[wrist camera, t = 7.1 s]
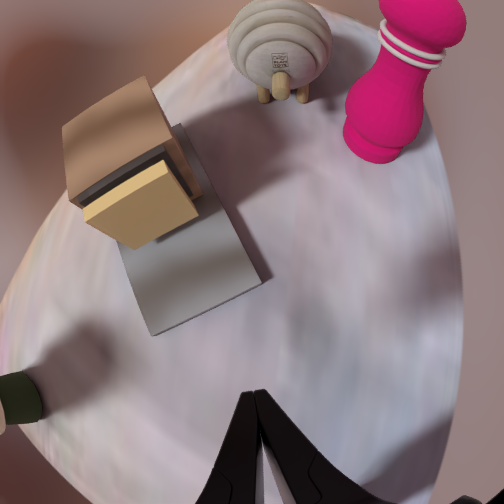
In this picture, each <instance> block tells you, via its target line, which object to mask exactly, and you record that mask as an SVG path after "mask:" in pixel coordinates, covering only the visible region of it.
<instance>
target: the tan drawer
mask: <svg viewBox="0 0 504 504" xmlns="http://www.w3.org/2000/svg"><path fill="white" fill-rule="evenodd" d="M82 210H83V215H84V220H85V222H86V223H87V224H89V225H91V226H92V227H94V228H96V229H98V230H99V231H101V232H103V233H105V234H106V235H108V236H110V237H112V238H113V239H115V240H117V241H119V242H120V243H122V244H124V245H126V246H128V247H129V248H131V249H133V250H136V249H138V248H140V247H142V246H143V245H145V244H147V243H149V242H151V241H152V240H154V239H156V238H158V237H160V236H161V235H163V234H165V233H167V232H169V231H171V230H173V229H174V228H176V227H178V226H180V225H182V224H184V223H186V222H188V221H189V220H191V219H193V218H195V217H197V216H199V215H198V212H197V210H196V208H195V206H194V204H193V203H192V201H191V200H190V198H189V197H188V195H187V194H186V193H185V191H184V190H183V188H182V187H181V185H180V184H179V182H178V181H177V179H176V178H175V176H174V175H173V173H172V172H171V170H170V169H169V167H168V166H167V164H166V163H165V162H164V160H162V161H160V162H158V163H156V164H155V165H153V166H151V167H149V168H147V169H146V170H144V171H142V172H140V173H139V174H137V175H135V176H134V177H132V178H130V179H129V180H127V181H125V182H124V183H122V184H120V185H119V186H117V187H115V188H114V189H112V190H111V191H109V192H107V193H106V194H104V195H103V196H101V197H100V198H98V199H97V200H95V201H94V202H92V203H91V204H89V205H88V206H86V207H85V208H83V209H82Z"/></svg>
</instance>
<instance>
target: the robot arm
mask: <svg viewBox="0 0 504 504" xmlns="http://www.w3.org/2000/svg"><path fill="white" fill-rule="evenodd" d="M261 438H262V440H261ZM262 443H263V447H264V450H265V453H266V456H267V459H268V462H269V464H270V467H271V470H272V473H273V476H274V479H275V481H276V484H277V487H278V490H279V492H280V495H281V498H282V500H283V503H284V504H396V503H392V502H388V501H385V500H382V499H380V498H378V497H376V496H374V495H372V494H371V493H369V492H368V491H366V490H365V489H363V488H362V487H360V486H359V485H358V484H356V483H355V482H353V481H352V480H351V479H349V478H348V477H347V476H345V475H344V474H343V473H342V472H340V471H339V470H338V469H337V468H336V467H334V466H333V465H332V464H331V463H330V462H329V461H328V460H327V459H326V458H325V457H324V456H323V455H322V454H321V453H320V451H318V449H317V448H316V447H315V446H314V445H313V444H312V443H311V442H310V441H309V440H308V438H307V437H306V436H305V435H304V434H303V433H302V432H301V431H300V429H299V428H298V427H297V426H296V425H295V424H294V423H293V421H292V420H291V419H290V418H289V417H288V416H287V414H286V413H285V412H284V411H283V410H282V409H281V407H280V406H279V405H278V404H277V403H276V401H275V400H274V399H273V398H272V397H271V395H270V394H269V393H268V392H267V391H266V390H265V389H260V390H255V391H254V393H253V391H247V392H242V393H241V395H240V398H239V400H238V403H237V406H236V409H235V411H234V414H233V417H232V419H231V422H230V425H229V427H228V430H227V433H226V435H225V438H224V441H223V443H222V446H221V449H220V451H219V454H218V456H217V459H216V461H215V464H214V467H213V469H212V471H211V474H210V476H209V478H208V481H207V483H206V485H205V487H204V489H203V491H202V493H201V494H200V496H199V498H198V500H197V501H196V503H195V504H264V477H263V449H262ZM451 504H482V503H481V502H480V501H479V500H477V499H474V498H472V497H469V496H466V495H463V496H461V497H460V498H458V499H457V500H455V501H454V502H452V503H451ZM486 504H504V489H503V490H501V491H500V492H499V493H498V494H497V495H496V496H494V497H493V498H492V499H491V500H490V501H488V502H487V503H486Z"/></svg>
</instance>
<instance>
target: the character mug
mask: <svg viewBox="0 0 504 504" xmlns="http://www.w3.org/2000/svg"><path fill="white" fill-rule="evenodd" d="M41 417H42V404H41V400H40V397H39V394H38V392H37V390H36V388H35V386H34V384H33V383H32V382H31V380H30V379H29V378H28V377H27V375H25V374H24V373H23V372H21V371H20V372H15V373H10V374H7V375H3V376H0V435H1V434H2V433H3V432H4V431H5V425H7V424H8V425H11V424H27V423H34V422H38V420H39V419H40V418H41Z"/></svg>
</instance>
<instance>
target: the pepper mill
mask: <svg viewBox="0 0 504 504" xmlns="http://www.w3.org/2000/svg"><path fill="white" fill-rule="evenodd" d="M379 7H380V10H381V12H382V14H383V15H384V17H385V19H384V20H382V21H381V23H380V28H381V29H380V30H379V31H378V39H379V41H380V43H381V49H380V53H379V55H378V58H377V60H376V63H375V64H374V65H373V67H372V68H371V69H370V70H369V71H368V72H366V73H365V74H364V75H363V76H361V77H360V78H359V79H358V80H357V81H356V82H355V83H354V84H353V86H352V87H351V89H350V90H349V93H348V95H347V98H346V102H345V111H346V115H347V117H346V121H345V124H344V127H343V136H344V140H345V142H346V144H347V146H348V147H349V148H350V149H351V150H352V152H354V153H355V154H356V155H357V156H359V157H360V158H362V159H364V160H366V161H369V162H372V163H376V164H384V163H388V162H391V161H393V160H394V159H395V158H396V157H397V156H398V154H399V153H400V151H401V150H402V148H403V146H405V145H407V144H409V143H410V142H412V141H413V140H414V139H415V137H416V136H417V134H418V132H419V130H420V128H421V125H422V119H423V88H424V83H425V80H426V78H427V75H428V74H429V72H430V71H431V69H437V68H439V67H440V66H441V64H442V59H444V58H445V56H446V50H445V48H448V47H452V46H454V45H456V44H458V43H459V42H460V41H461V40H462V38H463V36H464V33H465V30H466V16H465V13H464V11H463V8H462V6H461V5H460V3H459V2H458V1H457V0H379Z"/></svg>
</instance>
